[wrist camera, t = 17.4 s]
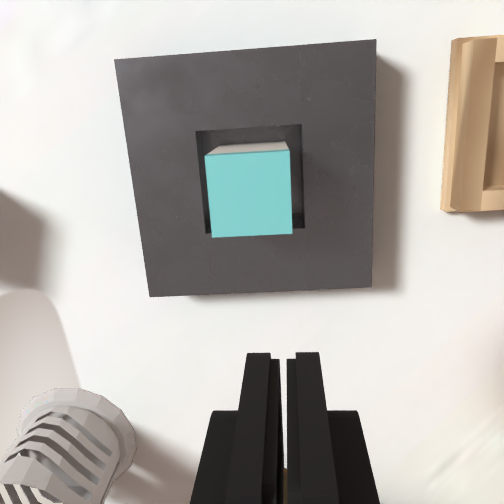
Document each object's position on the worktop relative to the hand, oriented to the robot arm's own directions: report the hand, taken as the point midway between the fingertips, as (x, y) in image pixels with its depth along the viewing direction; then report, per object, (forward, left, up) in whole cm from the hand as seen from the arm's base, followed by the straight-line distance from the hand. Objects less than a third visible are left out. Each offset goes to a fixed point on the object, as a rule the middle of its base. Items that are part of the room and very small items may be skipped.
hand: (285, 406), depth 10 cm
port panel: (+1, -3, -20) cm, 20 cm away
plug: (+1, -3, -19) cm, 19 cm away
